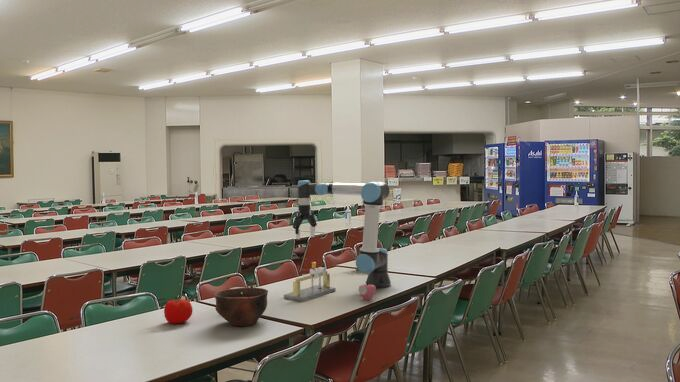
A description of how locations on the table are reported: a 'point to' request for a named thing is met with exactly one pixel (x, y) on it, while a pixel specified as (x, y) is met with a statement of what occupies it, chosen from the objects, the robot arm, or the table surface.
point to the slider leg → (313, 271)
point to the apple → (367, 291)
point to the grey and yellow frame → (307, 292)
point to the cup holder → (359, 249)
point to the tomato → (177, 311)
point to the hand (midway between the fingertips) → (305, 238)
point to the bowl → (241, 305)
